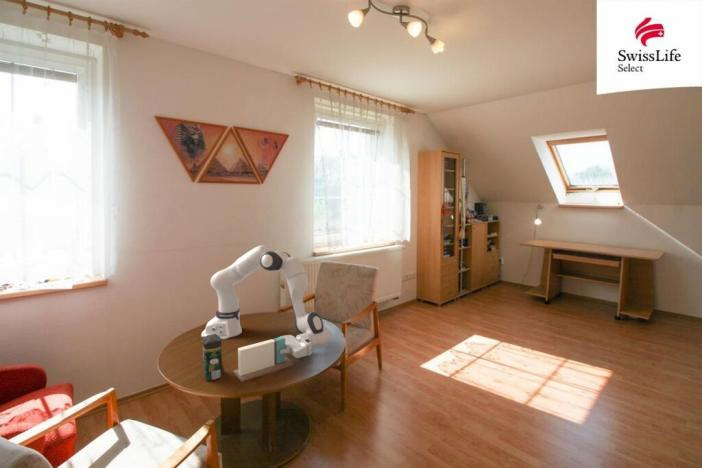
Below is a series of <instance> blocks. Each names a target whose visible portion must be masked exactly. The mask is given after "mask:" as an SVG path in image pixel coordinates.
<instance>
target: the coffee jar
mask: <svg viewBox="0 0 702 468" xmlns="http://www.w3.org/2000/svg"><path fill="white" fill-rule="evenodd" d="M222 349H223V348H222V339H221V338H220V336H218V335H216V334H212V335H207V336H206V337H203V339H202V365H203V364H204V367H203V376H204V379H205V380H206V381H215V380H219V379H221V378H222V376H223V372H222V368H223V353H222V352H223V351H222Z"/></svg>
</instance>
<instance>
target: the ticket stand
mask: <svg viewBox="0 0 702 468" xmlns="http://www.w3.org/2000/svg"><path fill="white" fill-rule="evenodd" d="M273 339H274V338H273ZM273 339H268V340H264V341H259V342H257V343H251V344H249V345H244V346H241V347H238V348H237V364H238V365H237V366H238V367H237V368H238V369H233V374H234V375H235V376H236V378H238V380H239V381H240V382H241V383H243V382H246V381H249V380H252V379H255V378H258V377H261V376H264V375H265V376H266V375H267V374H270V373H274V372H277V371H280V370H283V369H286V368H288V367H289V368H290V367H292V366H294V365H295V364H294V362H293V361H292V360H291V359H289V358H288V357H287V356H286V355H285V361H284V362H281V363H278V364H275V341H274V340H273Z"/></svg>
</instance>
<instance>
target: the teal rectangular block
mask: <svg viewBox="0 0 702 468" xmlns="http://www.w3.org/2000/svg"><path fill="white" fill-rule="evenodd" d="M281 336H282V337H280V336H278V337H274V338H273V340H274V341H275V364H278V363H281V362H284V361H285V356H286V353H282V354H281V353H279V349H282V348H283V349H285V338H284V337H283V336H284V335H281Z"/></svg>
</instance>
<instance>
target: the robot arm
mask: <svg viewBox="0 0 702 468" xmlns="http://www.w3.org/2000/svg"><path fill="white" fill-rule="evenodd" d="M261 267H262V269H264V270H265V271H269V272H270V271H271V272H272V271H273V272H278V271H282V272H283V274H284V277H285V279H286V282H287V286H288V291H289V296H290V302H291V306H292V311H293V315H294V327H295V330H296V332H297V333H298V334H297V335H296V336H294V335H292V334H287V335H280V336H279V337H282V336H283V337H284V338H285V349H283V348H282V349H279V353H281V354H282V353H285V354H290V355H291V356H293V357H294V358H295V359H300V358H303V357H307V356H311V355H312V349H318V348H321V347H323V346H325V345H327V344H328V343H329V342H330V341H331V339H332V335H331V334H332V333H331V330H330V329H329V328H328V327H327V326H326V325H325V323H324V321H323V318H322V317H323V316H321V314H320V313H318V312H316V311H313V312H310V313H307V312H306V308H305V304H304V299H303V297H304V294H305V292H306V291H307V289H308V286H309V279H308V276H307V272H306V269H305V267H304V266H303V264H302V262H301V260H300V259H299V258H298V257H297V256H291V255H290V254H289V253H288V252H285V251H281V250H270V249H269V247H268V246H266V245H263V244H261V245H258V246H255V247H254V248H251V250H249V251H247V252H246V253H244V254H243V255H241V256H240V257H239V258H237V259H236V260H235V261H234V262H233V263H232V264H231V265H229V266H228V267H226V268H224V269H221V270H218V271H216V272H215V273H214V274H213V275H212V276H211V278H210V281H209V282H210V286H211V287H212V289H214V290H215V291H216V294H217V297H218V299H217V300H218V308H217V309H216V310H215V312H214V315H215V316H214V317H213V318H212V319H210V320H209V321H208V322H207V324H206V325H205V329H204V330H203V331H202V332H201V338H205V337H206V336H207V335H212V334H216V335H218V336H220V338H221V340H227V339H229V338H233V337H236V336H239V335H240V334H242V332H243V330H242V326H241V322H240V318H241V312H240V308H239V306H240V305H239V304H240V303H239V295H238V294H237V293H236V290H235V285H237V284H239V283H240V282H242V281H244V279H245V278H247V277H248V276H249V275H251V274H252V273H254V272H256V271H257V270H258V269H259V268H261Z"/></svg>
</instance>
